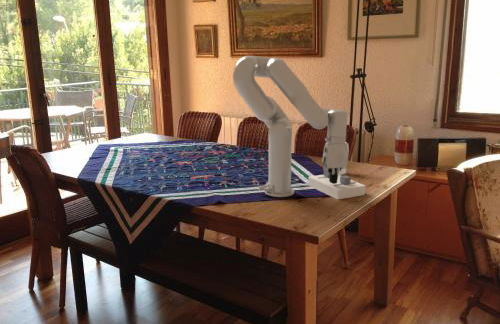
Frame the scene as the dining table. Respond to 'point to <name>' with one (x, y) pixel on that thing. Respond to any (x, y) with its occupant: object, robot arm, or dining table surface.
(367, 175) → the dining table surface
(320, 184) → the switch panel
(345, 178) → the front switch
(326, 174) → the back switch
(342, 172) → the beer glass
